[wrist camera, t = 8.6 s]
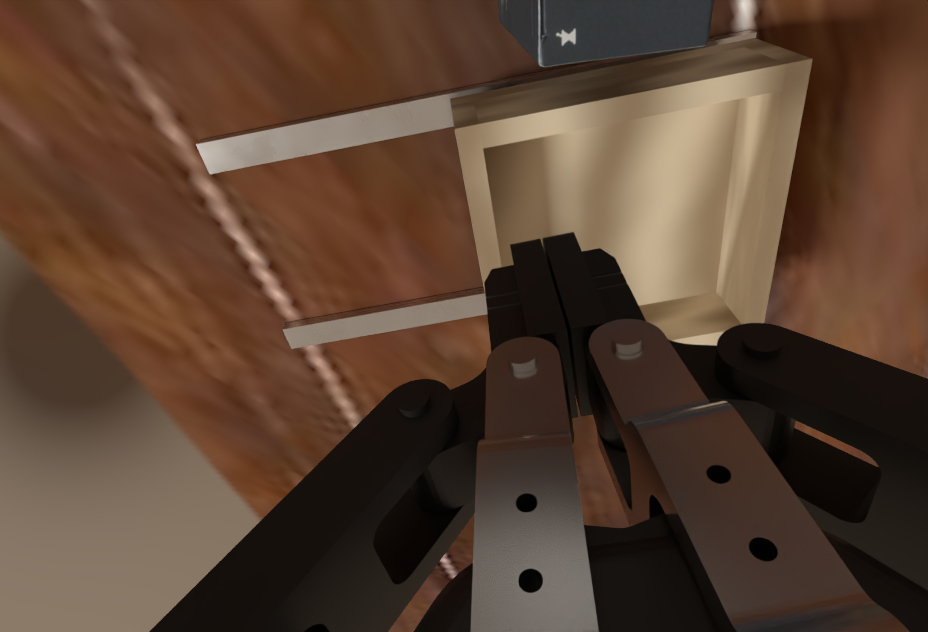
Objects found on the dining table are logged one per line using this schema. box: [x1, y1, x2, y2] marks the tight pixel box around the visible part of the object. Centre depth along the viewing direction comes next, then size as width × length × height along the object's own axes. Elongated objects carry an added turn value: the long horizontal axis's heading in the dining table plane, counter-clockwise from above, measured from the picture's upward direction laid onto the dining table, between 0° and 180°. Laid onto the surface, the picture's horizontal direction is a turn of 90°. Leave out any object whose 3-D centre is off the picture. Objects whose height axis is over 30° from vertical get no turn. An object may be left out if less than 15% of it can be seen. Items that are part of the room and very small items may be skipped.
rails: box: [196, 30, 757, 349], centre depth 31 cm, size 28×14×1 cm, turn 100°
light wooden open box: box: [450, 38, 813, 346], centre depth 28 cm, size 14×14×6 cm
